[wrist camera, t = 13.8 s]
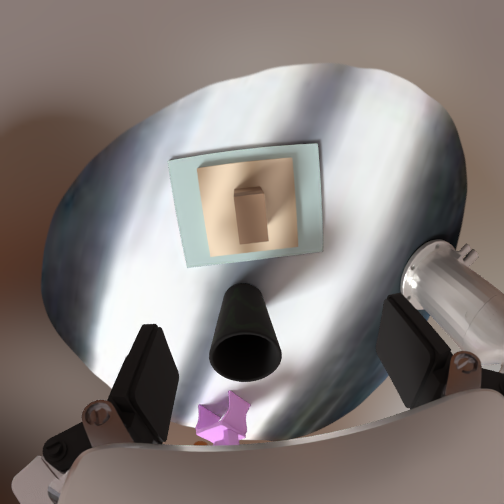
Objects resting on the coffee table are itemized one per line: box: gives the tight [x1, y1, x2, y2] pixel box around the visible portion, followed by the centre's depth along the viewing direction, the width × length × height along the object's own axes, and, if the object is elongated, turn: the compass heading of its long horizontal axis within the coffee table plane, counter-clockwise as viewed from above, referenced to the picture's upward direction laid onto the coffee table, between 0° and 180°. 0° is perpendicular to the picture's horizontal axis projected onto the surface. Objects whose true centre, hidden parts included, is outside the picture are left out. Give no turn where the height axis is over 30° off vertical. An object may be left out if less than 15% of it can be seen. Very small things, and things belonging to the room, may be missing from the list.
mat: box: [168, 144, 323, 268], centre depth 33 cm, size 18×14×1 cm
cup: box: [209, 283, 282, 382], centre depth 33 cm, size 8×8×12 cm
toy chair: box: [195, 391, 251, 446], centre depth 41 cm, size 8×9×15 cm
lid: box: [197, 157, 298, 257], centre depth 30 cm, size 11×11×6 cm
